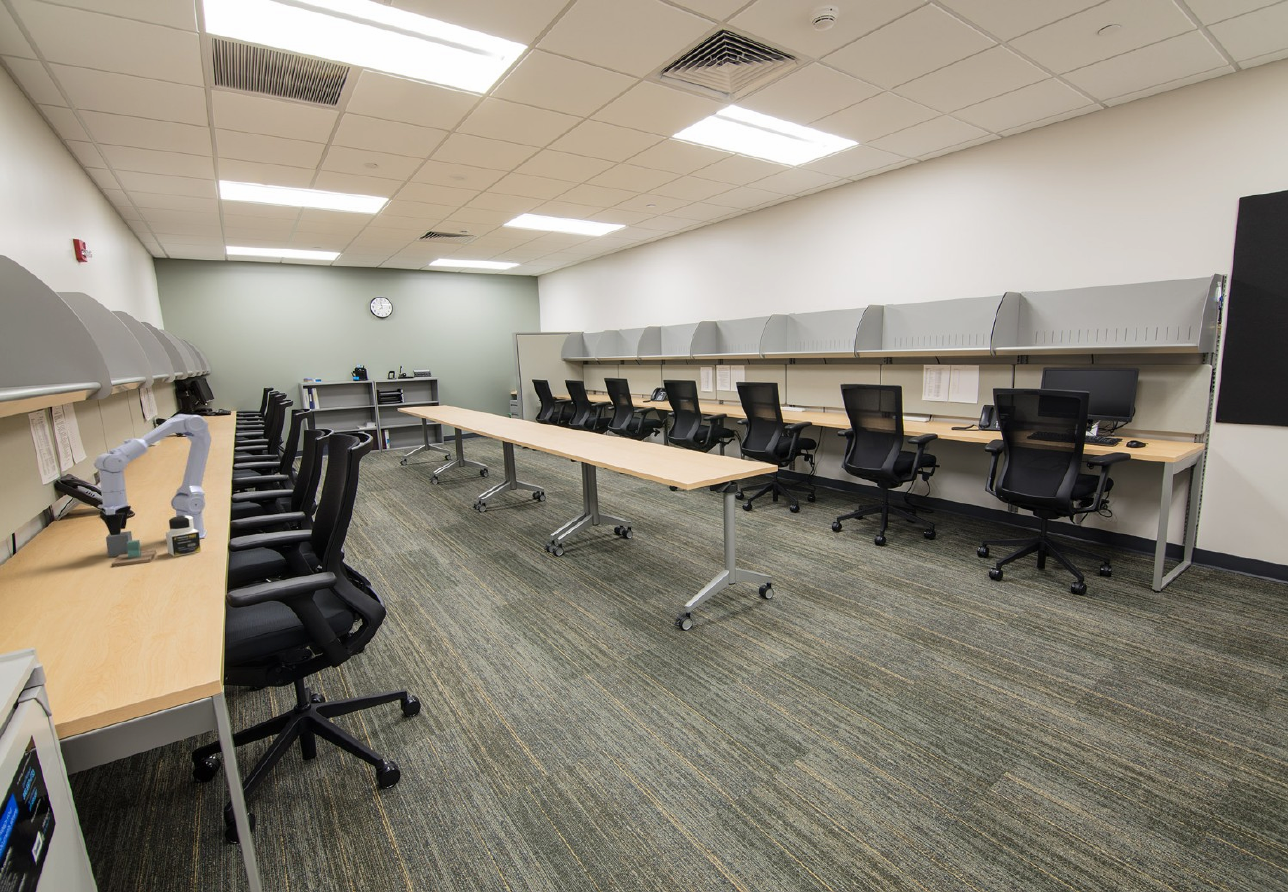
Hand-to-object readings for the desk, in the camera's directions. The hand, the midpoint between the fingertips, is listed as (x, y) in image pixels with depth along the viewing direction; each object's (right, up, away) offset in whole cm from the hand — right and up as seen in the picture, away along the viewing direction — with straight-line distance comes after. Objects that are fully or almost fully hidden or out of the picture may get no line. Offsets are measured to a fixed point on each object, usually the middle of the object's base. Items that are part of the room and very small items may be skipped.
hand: (118, 531), depth 182 cm
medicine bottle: (+19, -7, +3) cm, 21 cm away
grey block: (0, -7, +1) cm, 7 cm away
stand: (+10, -8, -5) cm, 13 cm away
